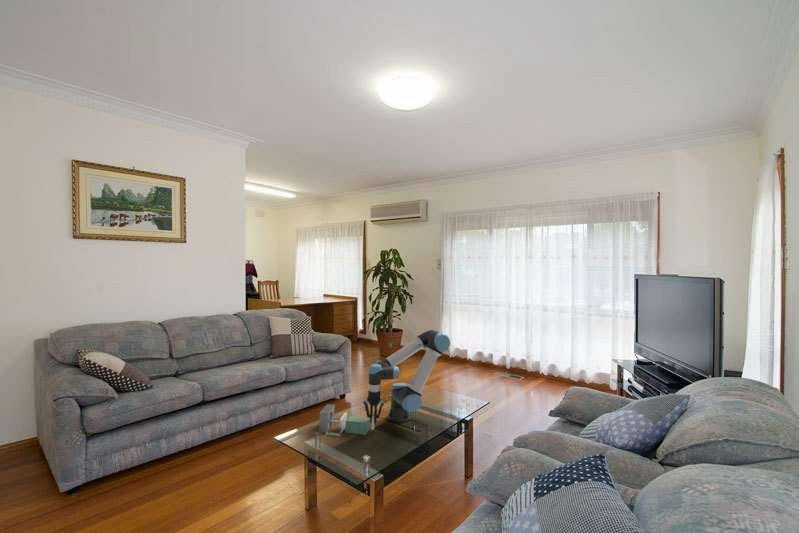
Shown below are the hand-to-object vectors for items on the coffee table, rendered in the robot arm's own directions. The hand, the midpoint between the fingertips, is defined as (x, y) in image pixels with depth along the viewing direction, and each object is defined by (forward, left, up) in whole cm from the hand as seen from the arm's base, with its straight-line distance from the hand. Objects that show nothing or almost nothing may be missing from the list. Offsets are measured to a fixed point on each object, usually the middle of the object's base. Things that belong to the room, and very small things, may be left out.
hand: (372, 428), depth 225 cm
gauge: (+25, +1, -2) cm, 25 cm away
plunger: (+25, +2, -2) cm, 25 cm away
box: (+9, +1, -2) cm, 10 cm away
